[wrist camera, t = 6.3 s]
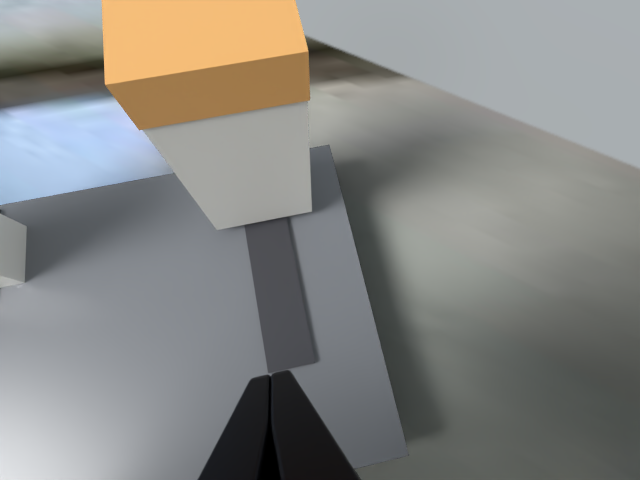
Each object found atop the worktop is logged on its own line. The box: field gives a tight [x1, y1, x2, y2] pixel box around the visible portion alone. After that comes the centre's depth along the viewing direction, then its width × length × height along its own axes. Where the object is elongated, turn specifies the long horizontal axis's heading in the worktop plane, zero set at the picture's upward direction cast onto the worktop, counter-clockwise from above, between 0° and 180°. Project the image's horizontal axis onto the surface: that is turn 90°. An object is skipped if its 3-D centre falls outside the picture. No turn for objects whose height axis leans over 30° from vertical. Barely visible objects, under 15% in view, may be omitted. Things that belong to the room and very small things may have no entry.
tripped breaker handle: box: [102, 0, 312, 230], centre depth 12 cm, size 3×4×8 cm, turn 102°
